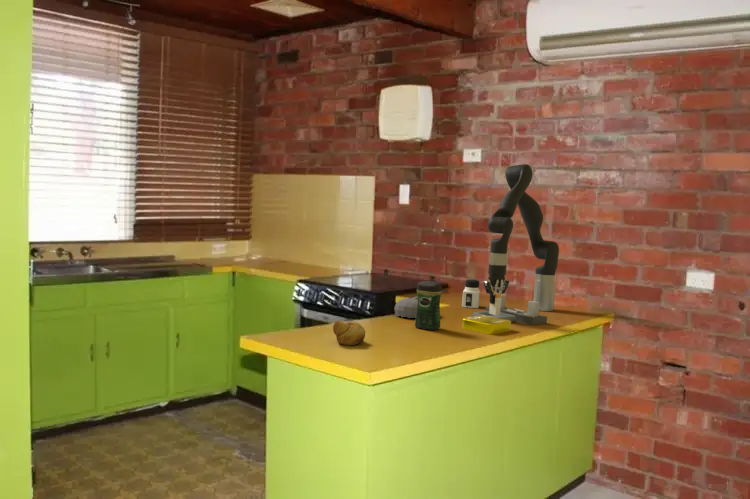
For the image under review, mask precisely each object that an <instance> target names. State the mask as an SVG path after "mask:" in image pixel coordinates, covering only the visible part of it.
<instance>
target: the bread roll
mask: <svg viewBox="0 0 750 499" xmlns="http://www.w3.org/2000/svg"><path fill="white" fill-rule="evenodd" d="M332 331H333V333H334V335H335V336H336V337H335V338H336V342H337V343H339V344H340V345H345V346H355V345H358V344H360V343H362V342H364V340H365V337H366V330H365V326H364V327H363V325H361V323H358V322H355V321H349V322H348V321H347V322H344V321H341V320H337V321H335V322H334V323H333V325H332Z"/></svg>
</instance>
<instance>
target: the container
mask: <svg viewBox="0 0 750 499" xmlns="http://www.w3.org/2000/svg"><path fill="white" fill-rule="evenodd" d="M480 297H481V290H480V281H479V280H478V279H472V278H468V279H465V283H464V289H463V291H462V302H461V307H462V308H467V307H468V308H469V309H479V308H480V307H479V306H480V303H481V302H480V300H481V298H480Z"/></svg>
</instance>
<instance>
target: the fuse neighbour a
mask: <svg viewBox="0 0 750 499" xmlns="http://www.w3.org/2000/svg"><path fill="white" fill-rule="evenodd" d="M506 297H507V295H506V294H504V293H503V294H502V295H501V309H505V306H506Z"/></svg>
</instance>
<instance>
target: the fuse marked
mask: <svg viewBox="0 0 750 499" xmlns="http://www.w3.org/2000/svg"><path fill="white" fill-rule="evenodd" d="M489 306H490V308H489V314H492V315H500V307H501V294H498V293H495V304H491V303H490V302H489Z"/></svg>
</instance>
